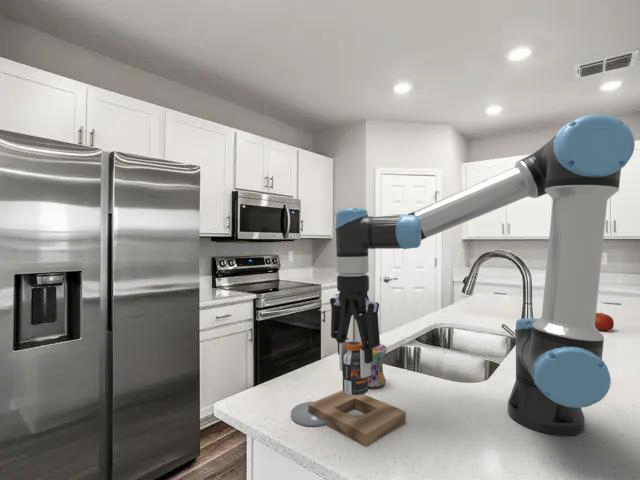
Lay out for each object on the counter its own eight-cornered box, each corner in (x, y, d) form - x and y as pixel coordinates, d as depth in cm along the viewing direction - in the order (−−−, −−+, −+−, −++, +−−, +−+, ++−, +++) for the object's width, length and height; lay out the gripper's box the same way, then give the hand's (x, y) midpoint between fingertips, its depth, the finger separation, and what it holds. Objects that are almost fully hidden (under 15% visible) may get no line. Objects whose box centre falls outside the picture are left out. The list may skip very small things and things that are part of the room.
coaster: (346, 415, 86) (346, 412, 86) (311, 432, 78) (311, 429, 78) (315, 400, 94) (315, 397, 94) (281, 414, 86) (281, 411, 86)
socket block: (405, 422, 82) (405, 411, 82) (365, 446, 73) (365, 434, 73) (348, 397, 95) (348, 387, 95) (308, 414, 86) (308, 404, 86)
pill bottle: (351, 398, 80) (350, 347, 81) (338, 389, 86) (336, 341, 86) (373, 392, 83) (371, 343, 83) (359, 384, 88) (357, 338, 89)
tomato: (582, 328, 167) (582, 310, 167) (600, 327, 168) (600, 310, 168) (600, 333, 158) (600, 315, 158) (619, 332, 159) (619, 314, 159)
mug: (393, 386, 102) (393, 349, 102) (365, 392, 98) (365, 353, 98) (371, 372, 113) (371, 338, 113) (345, 377, 110) (345, 342, 109)
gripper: (395, 275, 80) (397, 379, 80) (335, 271, 94) (337, 359, 94) (374, 278, 75) (376, 388, 75) (314, 273, 89) (316, 366, 89)
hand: (355, 372), depth 84 cm, fingers closed on pill bottle, 6 cm apart
